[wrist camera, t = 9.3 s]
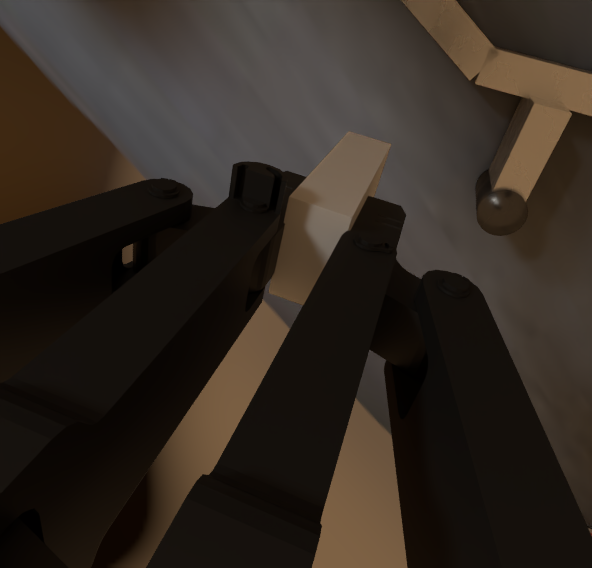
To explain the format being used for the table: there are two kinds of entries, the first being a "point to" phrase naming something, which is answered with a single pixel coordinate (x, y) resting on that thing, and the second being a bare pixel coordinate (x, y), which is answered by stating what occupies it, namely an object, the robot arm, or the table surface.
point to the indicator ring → (527, 118)
